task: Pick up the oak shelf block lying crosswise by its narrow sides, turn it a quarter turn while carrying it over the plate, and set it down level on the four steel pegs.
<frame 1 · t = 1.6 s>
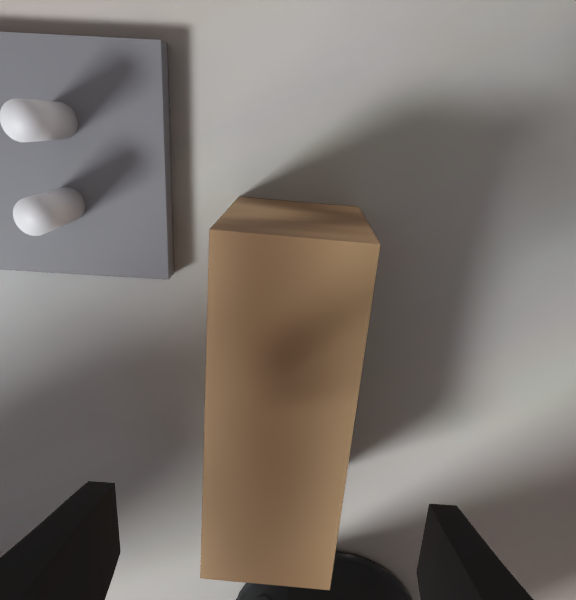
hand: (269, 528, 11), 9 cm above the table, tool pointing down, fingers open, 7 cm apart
shelf block: (286, 347, 20), on the table
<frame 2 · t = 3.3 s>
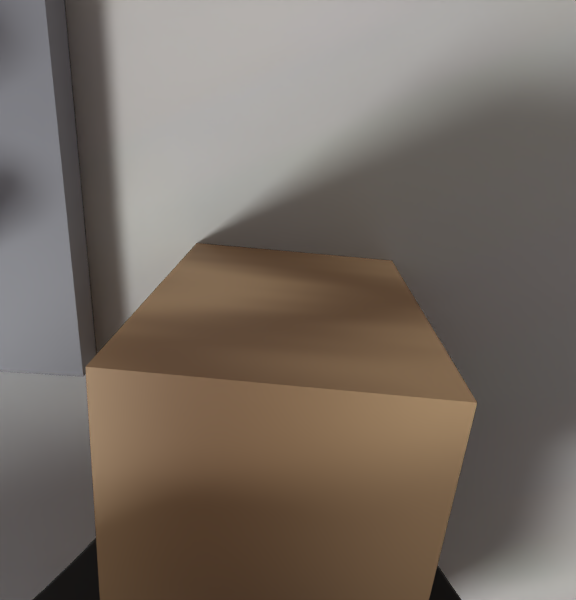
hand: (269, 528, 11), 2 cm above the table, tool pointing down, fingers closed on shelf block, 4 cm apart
shelf block: (274, 470, 13), on the table, touching gripper
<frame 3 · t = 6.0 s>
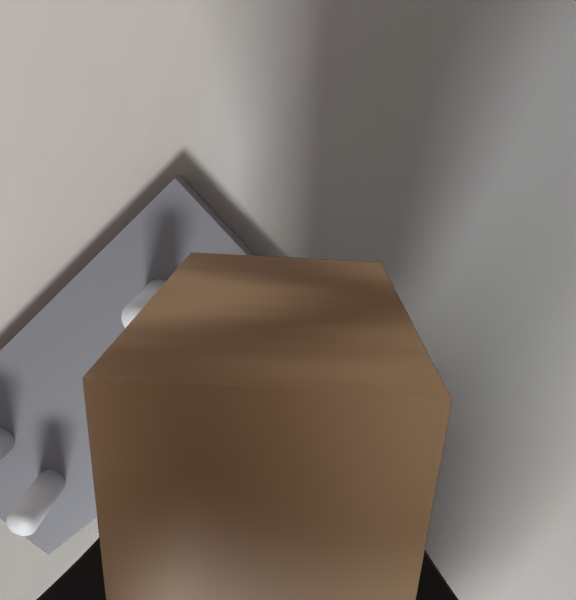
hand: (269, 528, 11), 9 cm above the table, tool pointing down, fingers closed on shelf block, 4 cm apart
shelf block: (276, 470, 14), point 7 cm above the table, touching gripper
peg plate: (109, 384, 21), on the table
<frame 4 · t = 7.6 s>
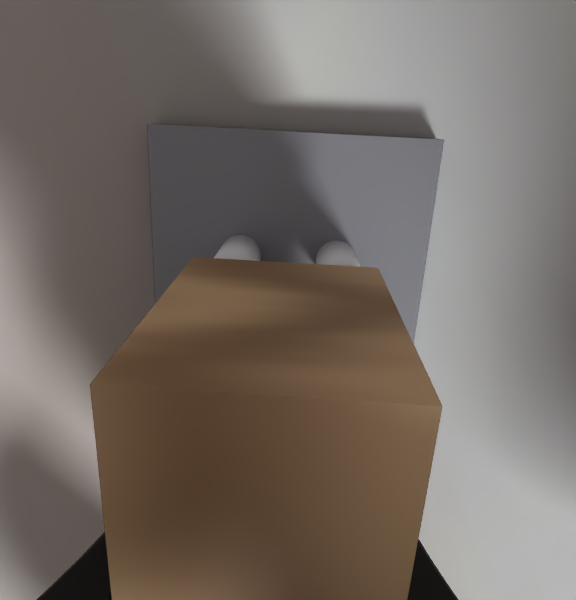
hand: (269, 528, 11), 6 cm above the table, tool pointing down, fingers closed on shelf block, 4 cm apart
shelf block: (275, 469, 14), point 3 cm above the table, touching gripper
peg plate: (281, 393, 17), on the table
when the fingers open (6 cm above the table, at t = 8.8 s): shelf block stays where it is, resting on peg plate.
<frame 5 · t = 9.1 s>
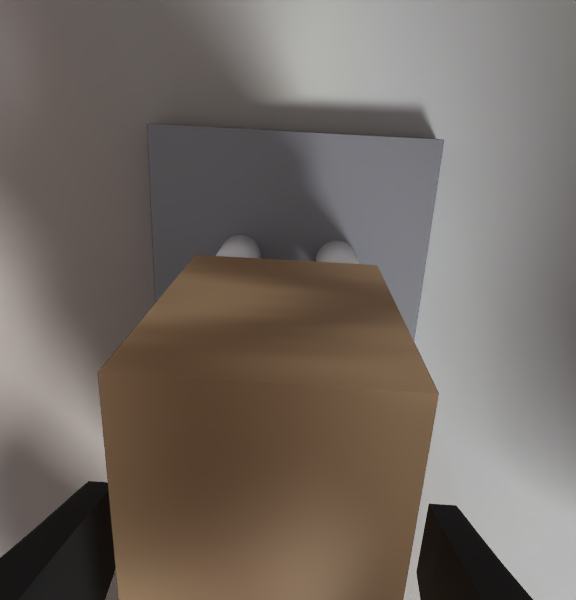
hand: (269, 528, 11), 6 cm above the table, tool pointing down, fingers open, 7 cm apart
shelf block: (276, 464, 14), point 3 cm above the table, touching peg plate
peg plate: (282, 393, 17), on the table
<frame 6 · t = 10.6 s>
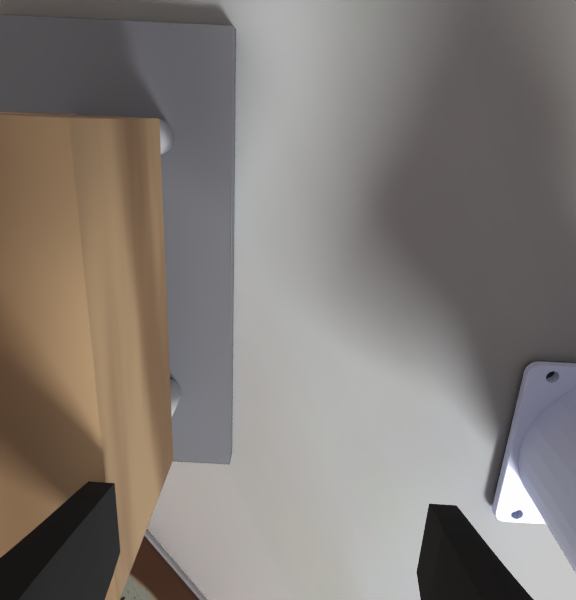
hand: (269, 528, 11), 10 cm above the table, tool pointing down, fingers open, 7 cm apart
shelf block: (101, 306, 17), point 3 cm above the table, touching peg plate
food container: (113, 566, 25), on the table
peg plate: (132, 267, 20), on the table
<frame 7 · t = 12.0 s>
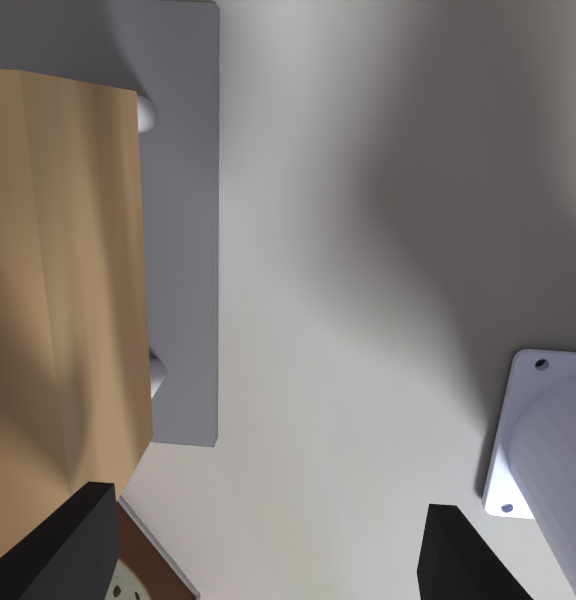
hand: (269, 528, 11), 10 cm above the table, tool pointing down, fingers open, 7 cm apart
shelf block: (81, 279, 17), point 3 cm above the table, touching peg plate
food container: (102, 548, 26), on the table
peg plate: (118, 246, 20), on the table
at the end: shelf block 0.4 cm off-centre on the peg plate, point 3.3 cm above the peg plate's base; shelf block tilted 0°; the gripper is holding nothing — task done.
